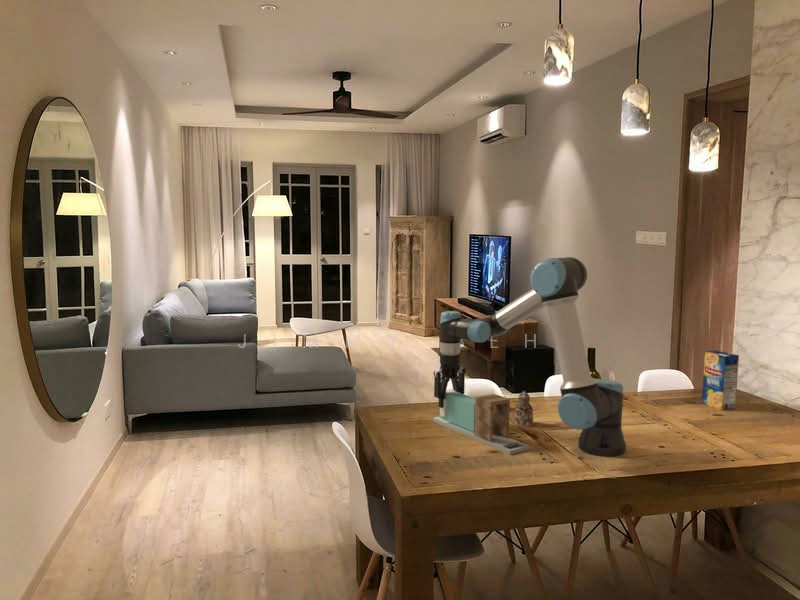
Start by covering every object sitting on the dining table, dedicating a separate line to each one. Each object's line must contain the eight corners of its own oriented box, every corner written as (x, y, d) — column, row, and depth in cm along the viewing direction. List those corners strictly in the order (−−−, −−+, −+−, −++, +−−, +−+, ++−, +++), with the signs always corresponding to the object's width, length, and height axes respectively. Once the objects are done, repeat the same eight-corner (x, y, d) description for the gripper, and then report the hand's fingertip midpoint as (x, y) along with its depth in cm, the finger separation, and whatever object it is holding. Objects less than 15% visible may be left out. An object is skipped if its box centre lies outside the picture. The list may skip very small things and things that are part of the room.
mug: (494, 411, 263) (494, 391, 262) (468, 410, 263) (469, 391, 262) (490, 402, 275) (491, 384, 274) (466, 402, 275) (466, 383, 274)
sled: (484, 429, 235) (485, 401, 233) (473, 431, 232) (474, 403, 231) (450, 415, 251) (450, 389, 250) (439, 417, 249) (440, 391, 247)
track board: (529, 449, 219) (530, 445, 219) (509, 454, 214) (509, 450, 214) (451, 417, 254) (451, 414, 254) (432, 421, 249) (432, 417, 249)
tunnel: (508, 437, 227) (509, 398, 225) (489, 442, 222) (490, 402, 221) (493, 431, 234) (494, 393, 232) (474, 435, 229) (475, 397, 227)
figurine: (512, 425, 245) (513, 393, 243) (514, 420, 251) (515, 389, 250) (531, 427, 243) (532, 395, 241) (533, 421, 249) (534, 390, 248)
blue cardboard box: (722, 410, 266) (725, 356, 264) (701, 403, 277) (704, 351, 274) (735, 408, 269) (739, 355, 266) (714, 401, 279) (718, 350, 276)
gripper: (462, 349, 253) (461, 408, 256) (424, 354, 243) (423, 415, 246) (475, 352, 247) (474, 413, 249) (436, 357, 237) (435, 421, 240)
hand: (449, 414), depth 248 cm, fingers closed on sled, 5 cm apart
